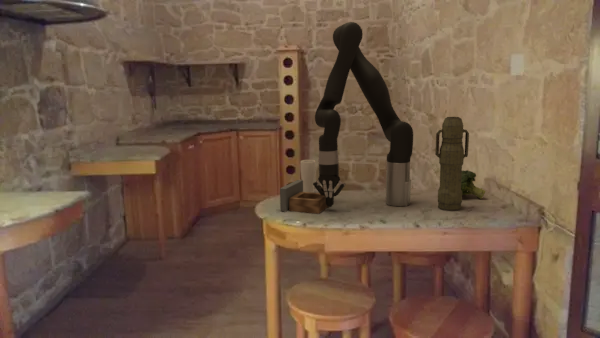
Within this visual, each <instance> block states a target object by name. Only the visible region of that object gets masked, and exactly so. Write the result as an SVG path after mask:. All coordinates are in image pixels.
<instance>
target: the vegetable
mask: <svg viewBox="0 0 600 338" xmlns="http://www.w3.org/2000/svg"><path fill="white" fill-rule="evenodd" d="M476 177H477V174H476V173H475V172H473V171H471V170H462V176H461V190H462V196H466V195H467V196H469V195H470V196H471V195H472V196H476V197H477V198H478V199H480V200H482V199H483V198H484V196H485V193H486V190H485V189H483V188H482V187H477V186H476V185H475V183H474V182H475V181H476Z"/></svg>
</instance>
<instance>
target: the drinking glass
mask: <svg viewBox="0 0 600 338" xmlns="http://www.w3.org/2000/svg"><path fill="white" fill-rule="evenodd" d="M299 167H300V178H301V179H300V180H303V192H313V193H316V192H315V191H316V190H315V189H316V188H315V186H314V185H313V183H314V182H316V173H317V163H316V160H315V159H302V160H300V166H299Z"/></svg>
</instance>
